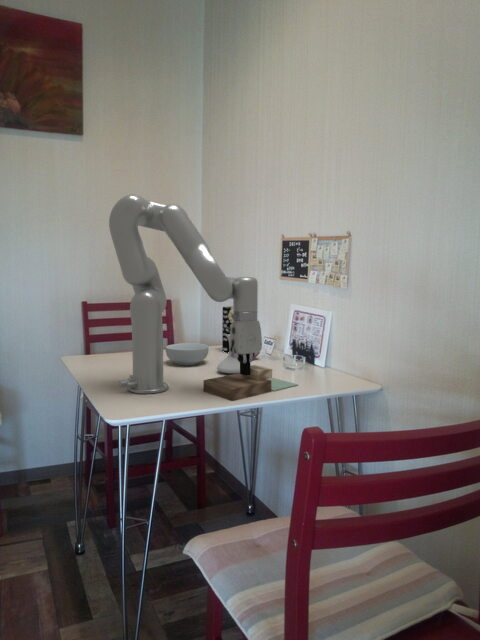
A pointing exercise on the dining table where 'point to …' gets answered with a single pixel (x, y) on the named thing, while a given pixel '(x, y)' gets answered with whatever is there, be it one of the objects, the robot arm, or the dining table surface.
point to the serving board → (236, 386)
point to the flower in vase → (229, 357)
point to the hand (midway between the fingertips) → (245, 374)
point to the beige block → (259, 372)
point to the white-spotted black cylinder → (226, 329)
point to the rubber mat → (280, 384)
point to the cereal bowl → (187, 353)
